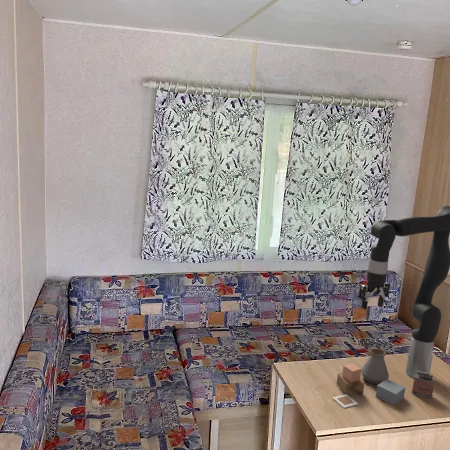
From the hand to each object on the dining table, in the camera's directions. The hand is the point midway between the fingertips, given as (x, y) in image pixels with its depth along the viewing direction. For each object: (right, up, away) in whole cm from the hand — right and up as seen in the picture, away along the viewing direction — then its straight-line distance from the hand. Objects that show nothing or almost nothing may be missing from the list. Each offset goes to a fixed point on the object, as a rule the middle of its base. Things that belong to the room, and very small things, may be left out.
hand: (372, 307), depth 203 cm
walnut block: (-10, -33, -2) cm, 35 cm away
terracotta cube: (-10, -28, -3) cm, 30 cm away
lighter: (+20, -35, -3) cm, 40 cm away
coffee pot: (+1, -31, +11) cm, 33 cm away
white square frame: (-14, -35, -12) cm, 39 cm away
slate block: (+5, -35, -6) cm, 36 cm away
